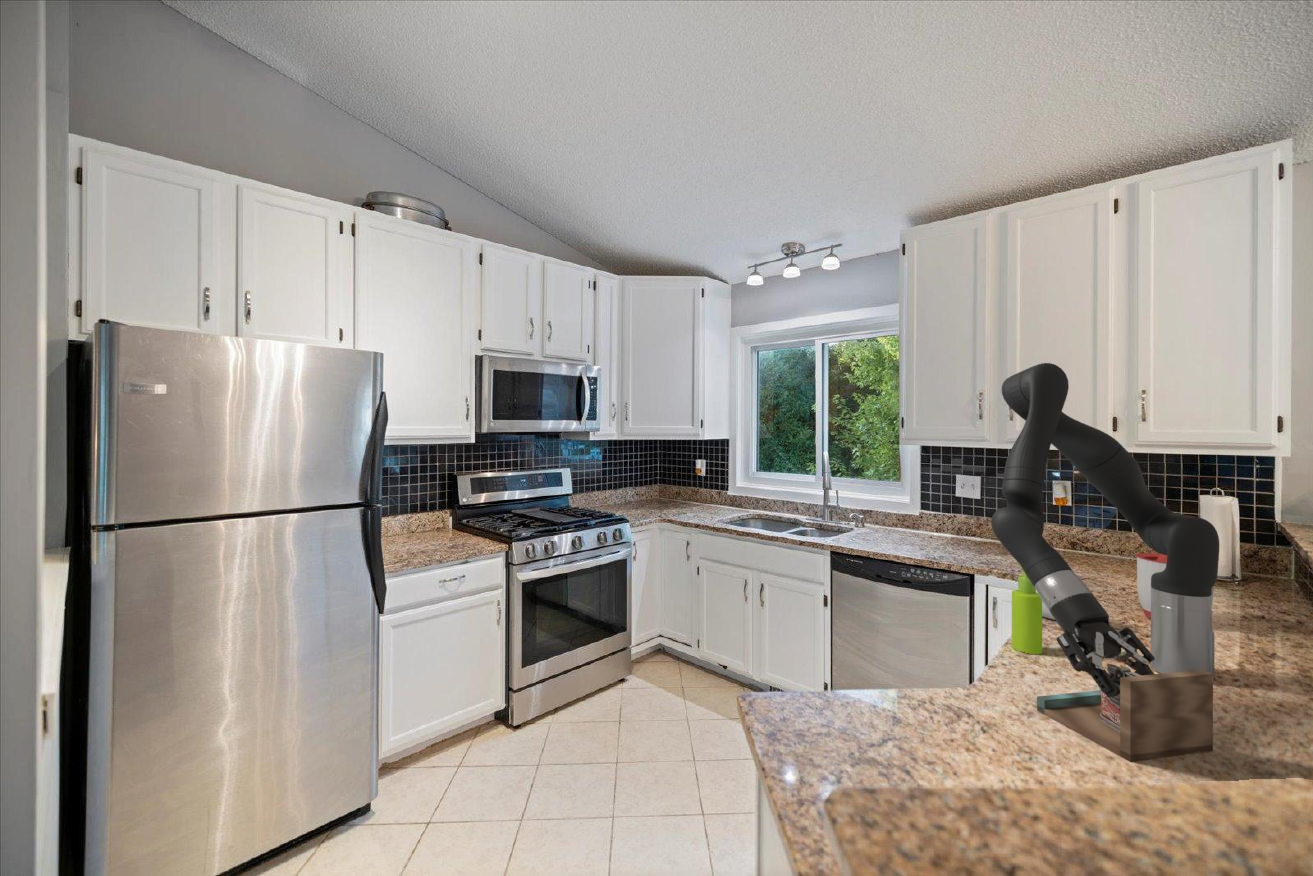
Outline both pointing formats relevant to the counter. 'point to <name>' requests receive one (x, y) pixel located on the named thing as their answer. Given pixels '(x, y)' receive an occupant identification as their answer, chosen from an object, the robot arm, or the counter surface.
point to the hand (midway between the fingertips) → (1136, 693)
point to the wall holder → (1144, 715)
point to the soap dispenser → (1026, 617)
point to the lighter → (1112, 704)
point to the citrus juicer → (1149, 577)
